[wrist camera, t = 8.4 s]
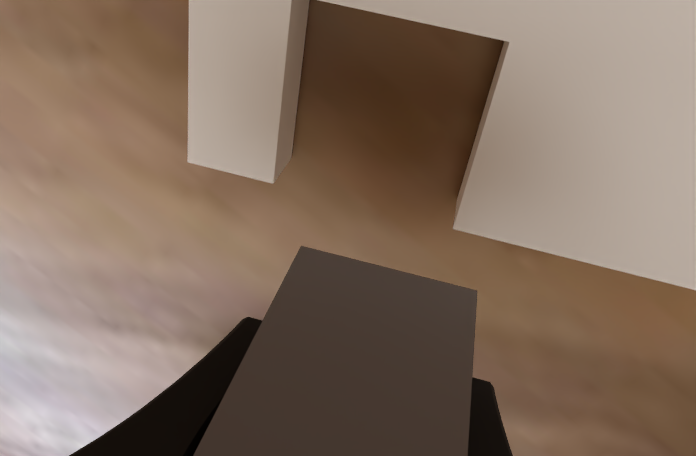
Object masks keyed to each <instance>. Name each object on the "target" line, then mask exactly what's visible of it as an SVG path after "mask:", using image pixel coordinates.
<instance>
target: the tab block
mask: <svg viewBox="0 0 696 456" xmlns="http://www.w3.org/2000/svg"><path fill="white" fill-rule="evenodd" d="M476 305H477V290H473V289H469V288H465V287H461V286H457V285H453V284H449V283H445V282H441V281H437V280H434V279H430V278H426V277H422V276H418V275H414V274H410V273H406V272H402V271H398V270H394V269H390V268H386V267H382V266H379V265H375V264H371V263H367V262H363V261H359V260H355V259H351V258H347V257H343V256H339V255H335V254H331V253H327V252H323V251H320V250H316V249H312V248H308V247H304V246H301V247H300V249H299V251H298V253H297V255H296V257H295V259H294V261H293V263H292V264H291V266H290V268H289V270H288V272H287V274H286V276H285V278H284V280H283V282H282V284H281V286H280V288H279V290H278V292H277V294H276V296H275V298H274V300H273V301H272V303H271V305H270V307H269V309H268V311H267V313H266V315H265V317H264V319H263V321H262V323H261V325H260V327H259V329H258V331H257V333H256V335H255V337H254V338H253V340H252V342H251V344H250V346H249V348H248V350H247V352H246V354H245V356H244V358H243V360H242V362H241V364H240V366H239V368H238V370H237V372H236V374H235V375H234V377H233V379H232V381H231V383H230V385H229V387H228V389H227V391H226V393H225V395H224V397H223V399H222V401H221V403H220V405H219V407H218V409H217V410H216V412H215V414H214V416H213V418H212V420H211V422H210V424H209V426H208V428H207V430H206V432H205V434H204V436H203V438H202V440H201V442H200V444H199V446H198V447H197V449H196V451H195V453H194V455H193V456H468V440H469V423H470V406H471V389H472V372H473V355H474V338H475V321H476Z"/></svg>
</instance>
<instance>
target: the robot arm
mask: <svg viewBox="0 0 696 456" xmlns="http://www.w3.org/2000/svg"><path fill="white" fill-rule="evenodd" d="M261 323H262V321H261V320H258V319H254V318H250V317H247V318H245V319H243V320H242V321H241V322H240V323H239V324H238V325H237V326H236V327H235V328H234V329H233V330H232V331H231V332H230V333H229V334H228V335H227V336H226V337H225V338H224V339H223V340H222V341H221V342H220V343H219V344H218V345H217V346H216V347H214V348H213V349H212V350H211V351H210V352H209V353H208V354H207V355H206V356H205V357H204V358H203V359H201V360H200V361H199V362H198V363H197V364H196V365H194V366H193V367H192V368H191V369H190V370H189V371H188V372H186V373H185V374H184V375H183V376H182V377H181V378H179V379H178V380H177V381H176V382H175V383H173V384H172V385H171V386H170V387H168V388H167V389H166V390H165V391H163V392H162V393H161V394H159V395H158V396H157V397H156V398H154V399H153V400H152V401H150V402H149V403H148V404H147V405H145V406H144V407H143V408H141V409H140V410H139V411H137V412H136V413H134V414H133V415H132V416H130V417H129V418H127V419H126V420H124V421H123V422H122V423H120V424H119V425H117V426H116V427H114V428H113V429H111V430H110V431H108V432H107V433H105V434H104V435H102V436H101V437H99V438H97V439H96V440H94V441H93V442H91V443H89V444H88V445H86V446H84V447H83V448H81V449H79V450H78V451H76V452H74V453H73V454H71V455H69V456H193V455H194V453H195V451H196V449H197V447H198V446H199V444H200V442H201V440H202V438H203V436H204V434H205V432H206V430H207V428H208V426H209V424H210V422H211V420H212V418H213V416H214V414H215V412H216V410H217V409H218V407H219V405H220V403H221V401H222V399H223V397H224V395H225V393H226V391H227V389H228V387H229V385H230V383H231V381H232V379H233V377H234V375H235V374H236V372H237V370H238V368H239V366H240V364H241V362H242V360H243V358H244V356H245V354H246V352H247V350H248V348H249V346H250V344H251V342H252V340H253V338H254V337H255V335H256V333H257V331H258V329H259V327H260V325H261ZM468 456H513V455H512V452H511V449H510V446H509V443H508V440H507V437H506V433H505V430H504V427H503V423H502V420H501V416H500V412H499V409H498V405H497V400H496V396H495V392H494V387H493V386H492V384H491V383H490V382H487V381H484V380H480V379H476V378H472V389H471V406H470V423H469V440H468Z"/></svg>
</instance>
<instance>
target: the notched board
mask: <svg viewBox="0 0 696 456" xmlns="http://www.w3.org/2000/svg"><path fill="white" fill-rule="evenodd" d="M309 1H310V0H189V53H188V162H189V163H193V164H197V165H201V166H205V167H209V168H213V169H216V170H220V171H224V172H228V173H232V174H236V175H240V176H244V177H248V178H252V179H256V180H260V181H264V182H268V183H272V184H274V182H275V181H276V179H277V178H278V177H279V175H280V174H281V172H282V171H283V169H284V168H285V167H286V165H287V164H288V162H289V161H290V160H291V157H292V148H293V140H294V131H295V122H296V114H297V105H298V96H299V88H300V79H301V70H302V62H303V53H304V44H305V36H306V27H307V18H308V10H309ZM319 1H324V2H329V3H333V4H338V5H342V6H347V7H351V8H356V9H361V10H365V11H370V12H374V13H379V14H384V15H388V16H393V17H397V18H402V19H406V20H411V21H416V22H420V23H425V24H429V25H434V26H439V27H443V28H448V29H452V30H457V31H461V32H466V33H471V34H475V35H480V36H484V37H489V38H494V39H498V40H503V41H504V44H503V47H502V50H501V54H500V57H499V60H498V64H497V67H496V71H495V74H494V77H493V81H492V84H491V87H490V91H489V94H488V97H487V101H486V104H485V107H484V111H483V114H482V117H481V121H480V124H479V127H478V131H477V134H476V137H475V141H474V144H473V148H472V151H471V154H470V158H469V161H468V164H467V168H466V171H465V174H464V178H463V181H462V184H461V188H460V191H459V194H458V198H457V203H456V210H455V217H454V224H453V229H455V230H459V231H463V232H467V233H471V234H475V235H479V236H483V237H487V238H491V239H494V240H498V241H502V242H506V243H510V244H514V245H518V246H522V247H526V248H530V249H534V250H538V251H542V252H546V253H550V254H554V255H558V256H562V257H566V258H570V259H574V260H578V261H582V262H586V263H590V264H594V265H598V266H602V267H606V268H610V269H614V270H618V271H622V272H626V273H629V274H633V275H637V276H641V277H645V278H649V279H653V280H657V281H661V282H665V283H669V284H673V285H677V286H681V287H685V288H689V289H693V290H696V0H319Z"/></svg>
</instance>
